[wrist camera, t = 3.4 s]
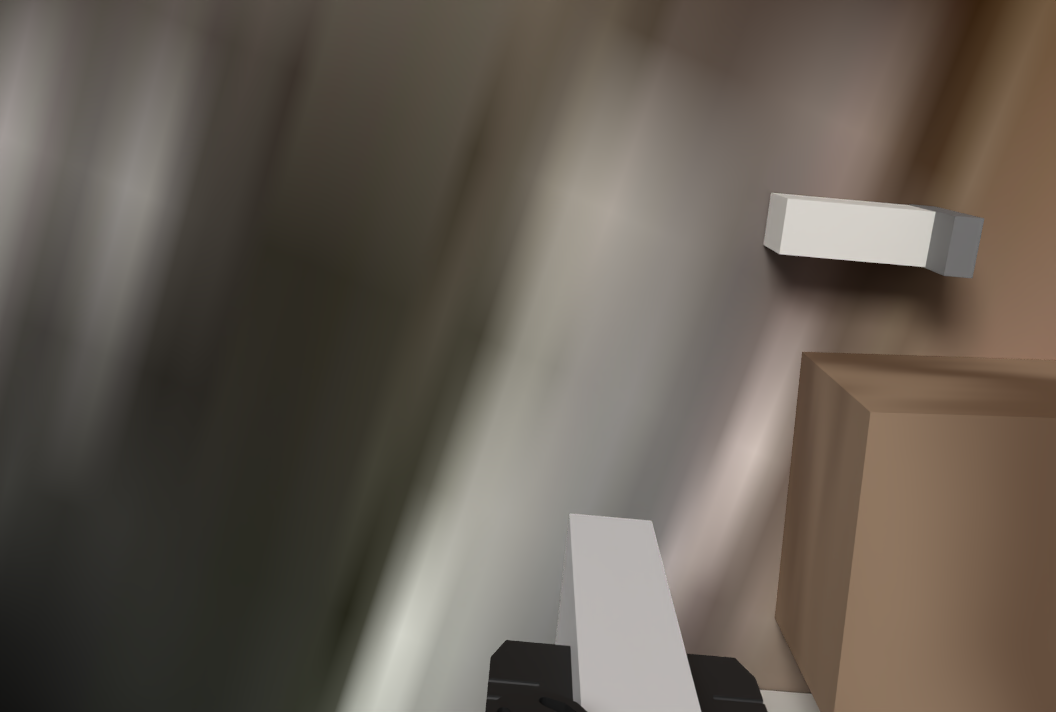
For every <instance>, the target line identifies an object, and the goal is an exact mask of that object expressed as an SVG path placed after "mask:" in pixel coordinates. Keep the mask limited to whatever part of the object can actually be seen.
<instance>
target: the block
mask: <svg viewBox="0 0 1056 712" xmlns="http://www.w3.org/2000/svg"><path fill="white" fill-rule="evenodd" d="M775 619H776V621H777V623H778V625H779V627H780V630H781V632H782V634H783V636H784V638H785V640H786V642H787V644H788V646H789V648H790V650H791V652H792V654H793V656H794V658H795V660H796V662H797V665H798V667H799V669H800V671H801V673H802V675H803V677H804V679H805V681H806V683H807V685H808V687H809V689H810V691H811V693H812V695H813V698H814V700H815V702H816V704H817V706H818V708H819V710H820V712H1056V360H1039V359H1007V358H976V357H945V356H913V355H882V354H851V353H819V352H802V359H801V369H800V379H799V388H798V398H797V408H796V418H795V427H794V437H793V447H792V456H791V466H790V476H789V485H788V495H787V505H786V514H785V524H784V534H783V544H782V553H781V563H780V573H779V582H778V592H777V602H776V611H775Z"/></svg>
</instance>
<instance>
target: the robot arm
mask: <svg viewBox="0 0 1056 712" xmlns="http://www.w3.org/2000/svg"><path fill="white" fill-rule="evenodd" d="M486 712H768V711H767V708H766V706H765V704H763V698H762V695H761V692H760V690H759V687H758V684H757V681H756V679H755V677H754V676H753V675H752V674H751V673H750V672H749V671H747V670H746V669H745V668H744V667H743V666H742V665H741V664H740V663H739V662H738V661H737V660H736V659H735V658H728V657H717V656H706V655H695V654H686V651H685V647H684V643H683V639H682V636H681V632H680V628H679V624H678V620H677V616H676V613H675V609H674V605H673V601H672V597H671V593H670V589H669V586H668V582H667V578H666V574H665V570H664V566H663V563H662V559H661V555H660V551H659V547H658V543H657V539H656V536H655V532H654V528H653V524H652V521H648V520H637V519H626V518H615V517H604V516H593V515H582V514H570V513H569V522H568V531H567V541H566V550H565V560H564V569H563V578H562V588H561V597H560V606H559V616H558V625H557V634H556V644H543V643H532V642H521V641H510V640H506V641H505V642H504V643H503V644H502V645H501V646H500V648H499V649H498V650H497V651H496V652H495V653H494V654H493V655H492V656H491V661H490V671H489V681H488V691H487V701H486Z"/></svg>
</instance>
